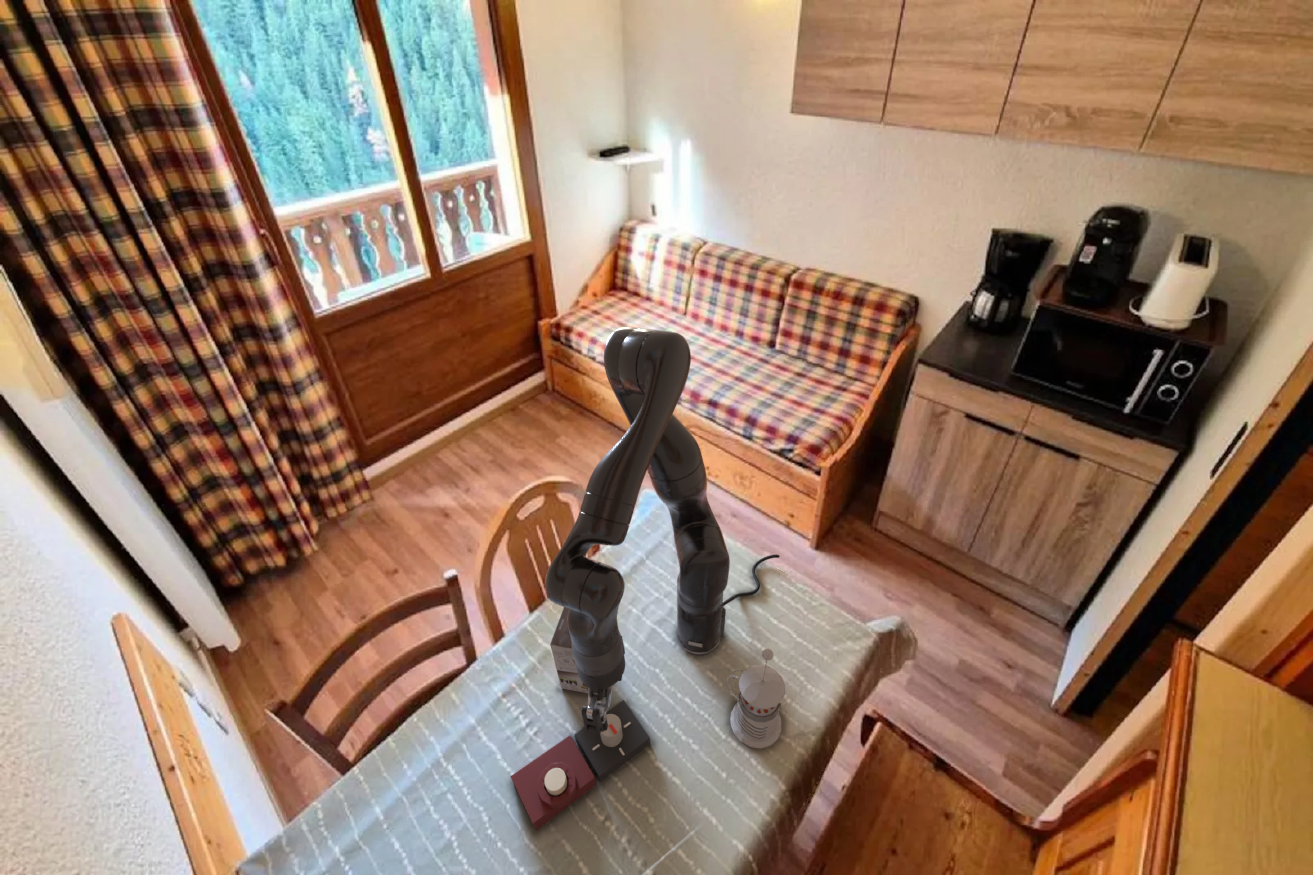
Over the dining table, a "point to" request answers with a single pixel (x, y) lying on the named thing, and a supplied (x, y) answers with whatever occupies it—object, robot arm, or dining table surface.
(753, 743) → the french press
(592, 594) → the robot arm
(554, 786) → the button
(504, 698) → the dining table surface
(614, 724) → the timer knob
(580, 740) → the panel
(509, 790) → the dining table surface
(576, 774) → the red button box
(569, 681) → the coffee box
